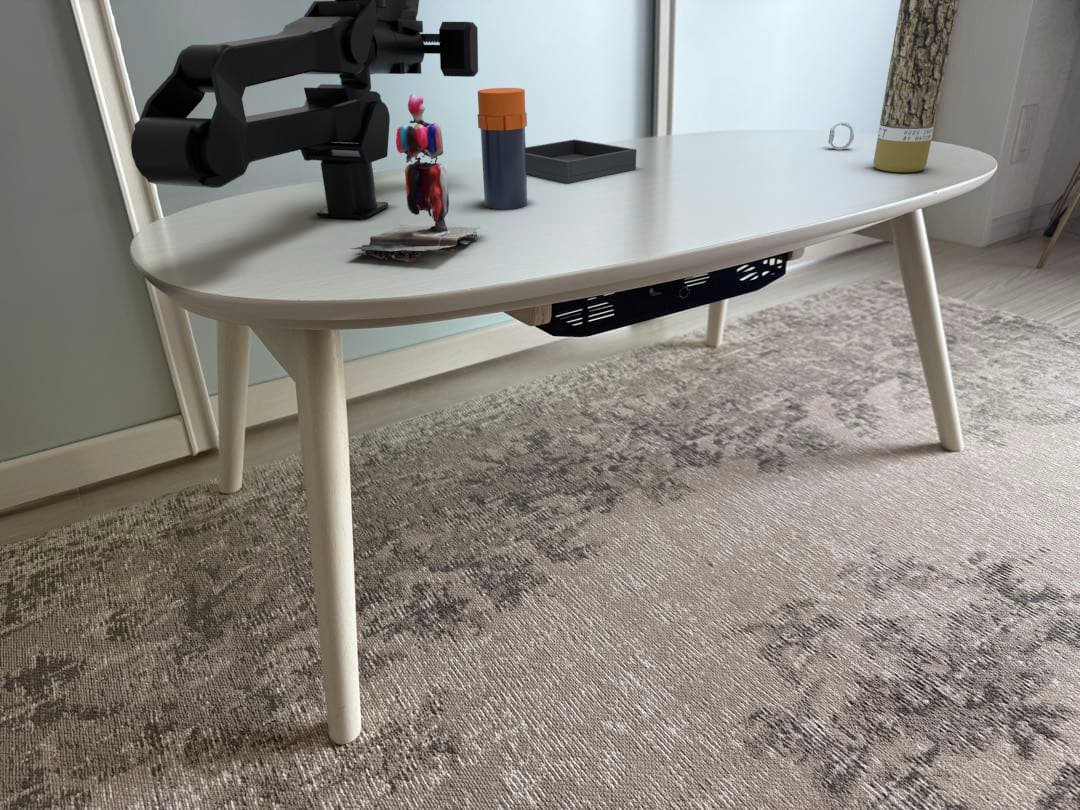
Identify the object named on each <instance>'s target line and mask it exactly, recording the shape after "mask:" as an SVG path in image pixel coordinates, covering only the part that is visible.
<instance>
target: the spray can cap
mask: <svg viewBox="0 0 1080 810" xmlns="http://www.w3.org/2000/svg"><path fill="white" fill-rule="evenodd" d="M477 107H478V114H477V126H478V129H480V130H481V129H484V130H514V129H521V128H524V127H525V128H526V127H528V114H527V112H526V91H525V89H524V88H519V87H491V88H482V89H479V90H477Z"/></svg>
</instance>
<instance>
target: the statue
mask: <svg viewBox="0 0 1080 810" xmlns="http://www.w3.org/2000/svg"><path fill="white" fill-rule="evenodd" d="M407 108H408V109H407V110H408V113H410V115H411V116H412V118H413V120H409V124H414V126H412V125H405V124H401V126H399V127H398V128H397V129H396V138H395V145H396V150H397V152H398V153H399V154H403V153H404V154H405V155H406V156H405V159H406V160H405V163H406V164H407V163H409V162H410V163H409V164H408V165H407V166H406V167H405V169H404V177H405V181H404V182H405V192H406V193H405V194H406V205H407V210H409V212H410V213H411V214H412V215H414V216H418V215H419V214H421V213H420V211H421V212H422V211H424V212H427V213H428V215H429V217H430V218H431V219H433V222H434V225H431V226H429V225H408V224H401V225H397V226H395V227H394V228H392V229H390V230H388V231H385V232H382V233H380V234H377V235H371V236H370V237H369V244H363V245H361V246H357V247H352V248H351V247H350V248H348V249H349V250H361V252H363V253H356V255H357V256H358V255H359V256H360V255H362V256H371V257H375V258H377V259H379V260H383V259H384V258H385V260H387V258H386V256H391V258H393V259H395V260H399V261H404V262H406V263H414V262H417V261H421V260H420V259H421V255H422V254H423V253H430V252H432V251H434V252H436V251H439V252H442V253H443V251H445V252H446V251H447V252H448V251H457V252H458V249H454V248H451V247H456V246H457V245H458V240H459V243H460V244H463V245H468V244H469V243H471V240H461V239H463V238H464V237H466V238H474V240H476V241H477V240H478V239H477V238H478V235H477V233H478V231H477V230H479V229H481V228H482V227H481V226H480V227H479V226H478V227H477V226H476V227H475V226H474V227H473V226H470V227H469V226H447V223H446V220H445V217H446V216H447V215H448V214H449V210H450V208H449V207H450V200H449V199H450V197H449V181H448V180H449V179H448V175H447V172H446V169H445V167H444V165H443V164H441V163H437V162H438V157H440V156H442V155H443V154H444V145H443V144H444V143H443V142H444V141H443V133H442V129H441V125H440V124H439V123H435V122H433V123H429V122H426V121H424V117H423V114H424V113H425V110H426V107H425V104H424V98H423V96H422V95H419V94H410V95H409V99H408V102H407ZM415 123H416V124H415ZM421 153H422V154H423V155H421V157H422V158H425V156H426V157H428V158H430V162H428V161H425V162H422V161H421V160H422V159H421V157H418V156H419V154H421ZM413 158H414V160H415V161H414V162H413V160H412V159H413ZM433 160H434V162H433ZM444 248H448V249H444Z"/></svg>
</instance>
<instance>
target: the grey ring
mask: <svg viewBox="0 0 1080 810" xmlns="http://www.w3.org/2000/svg"><path fill="white" fill-rule="evenodd" d="M838 126H842V127H843V126H844V127H847V128H848V129H849V139H848V142H847V143H846V144H845V145H844V146H842V147H840V146H836V145H834V144H833V142H834V138H835V129H836V128H837V127H838ZM854 138H855V132H854V127H853V126H852V125H851V124H850V123H848V122H847V121H846V122H838V123H836V124H835V125H833V126H832V127H830V129H829V137H828V145H830V146H831V147H832V149H835V150H837V151H842V150H844V149H848V148H849V147H850V145H851V144H852V143H853V141H854Z"/></svg>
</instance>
